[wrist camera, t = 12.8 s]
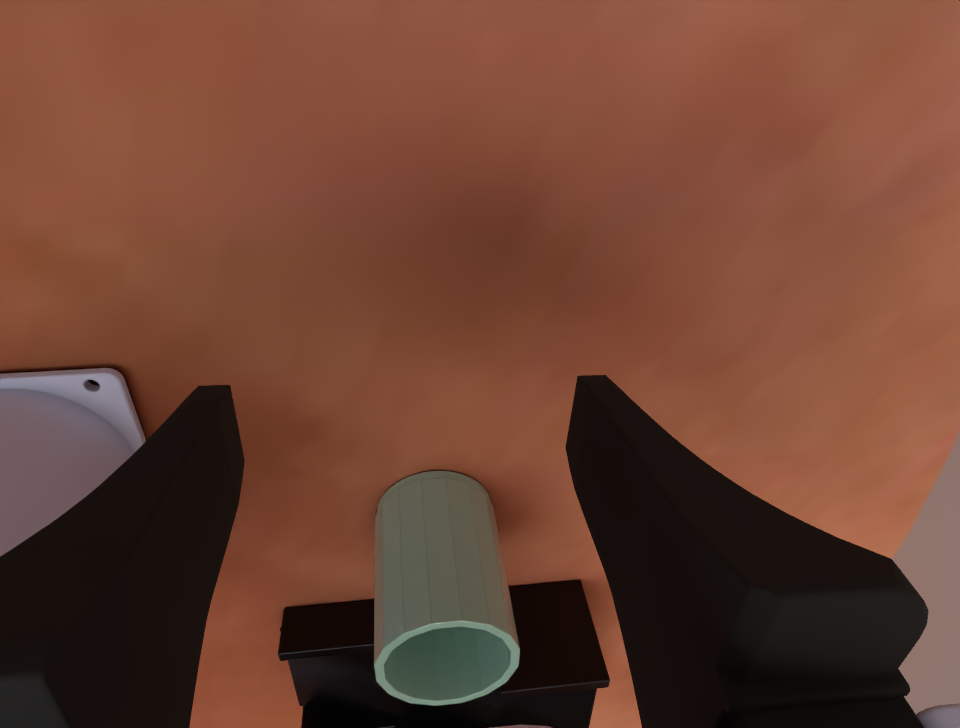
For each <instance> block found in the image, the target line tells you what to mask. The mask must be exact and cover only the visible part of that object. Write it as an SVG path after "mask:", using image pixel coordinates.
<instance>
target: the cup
mask: <svg viewBox="0 0 960 728" xmlns="http://www.w3.org/2000/svg"><path fill="white" fill-rule="evenodd" d="M519 658H520V646H519V641H518V636H517V630H516V625H515V620H514V614H513V609H512V604H511V598H510V593H509V588H508V582H507V577H506V572H505V566H504V561H503V556H502V550H501V545H500V540H499V534H498V529H497V524H496V518H495V513H494V508H493V506H492V503H491V499H490V496H489V494H488V493H487V491H486V490H485V489H484V487H483V486H482V485H481V484H479V483H478V482H477V481H475V480H474V479H472V478H470V477H468V476H466V475H463V474H460V473H456V472H450V471H428V472H422V473H418V474H415V475H411V476H409V477H407V478H404V479H402V480H400V481H399V482H397V483H396V484H394V485H393V486H392V487H390V488H389V489H388V490H387V491H386V492H385V494H384V495H383V496H382V498H381V499H380V501H379V503H378V506H377V509H376V517H375V585H374V669H375V676H376V681H377V683H378V684H379V685H380V686H381V687H382V688H383V689H384V690H385V691H386V692H387V693H388V694H389V695H391V696H393V697H396V698H398V699H401V700H403V701H406V702H408V703H413V704H423V705H432V706H435V705H436V706H439V705H448V704H456V703H462V702H466V701H469V700H472V699H475V698H478V697H481V696H484V695H487V694H489V693H490V692H492V691H494V690H495V689H497V688H498V687H500V686H501V685H503V684H504V683H506V682H507V681H508V680H509V679H510V677H511V676H512V674H513V673H514V672H515V670H516V669H517V668H518V666H519Z"/></svg>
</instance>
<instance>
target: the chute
mask: <svg viewBox="0 0 960 728" xmlns="http://www.w3.org/2000/svg"><path fill="white" fill-rule="evenodd" d="M281 628H282V626H281ZM281 628H280V631H281ZM288 662H289V666H290V670H291V674H292V678H293V682H294V686H295V689H296V693H297V697H298V701H299V705H300V706H307V707H314V708H320V709H327V710H334V711H340V712H347V713H354V714H361V715H367V716H374V717H381V718H387V719H394V720H401V721H408V722H414V723H421V724H428V725H435V726H441V727H448V728H491V727H501V726H512V725H538V726H550V727H552V728H589V724H590V719H591V715H592V710H593V705H594V700H595V695H596V690H597V688H596V689H587V690H579V691H570V692H561V693H552V694H543V695H535V696H526V697H517V698H508V699H501V698H500V693H499V687H498V688H497V689H495V690H494V691H492V692H490V693H489V694H487V695H484V696H481V697H478V698H475V699H472V700H469V701H466V702H462V703H456V704H448V705H439V706H436V705H435V706H432V705H423V704H413V703H408V702H406V701H403V700H401V699H398V698H396V697H393V696H391V695H389V694H388V693H387V692H386V691H385V690H384V689H383V688H382V687H381V686H380V685H379V684H378V683H377V681H376V676H375V669H374V651H371V652H362V653H352V654H342V655H333V656H323V657H313V658H304V659H294V660H288Z"/></svg>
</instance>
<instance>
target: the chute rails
mask: <svg viewBox="0 0 960 728" xmlns="http://www.w3.org/2000/svg"><path fill="white" fill-rule="evenodd" d="M508 588H509V593H510V598H511V604H512V609H513V614H514V620H515V625H516V630H517V636H518V641H519V646H520V658H519V666H518V668H517V669H516V670H515V672H514V673H513V674H512V676H511V677H510V679H509V680H508V681H507V682H506V683H504V684H503V685H501V686H500V687H499V693H500V698H501V699H508V698H517V697H526V696H535V695H543V694H552V693H561V692H570V691H579V690H587V689H596V688H605V687H609V682H610V678H609V675H608V672H607V668H606V665H605V661H604V658H603V655H602V651H601V648H600V644H599V641H598V638H597V634H596V631H595V628H594V624H593V621H592V617H591V614H590V611H589V607H588V604H587V600H586V597H585V594H584V590H583V587H582V583H581V581H580V580H578V581H567V582H557V583H546V584H535V585H525V586H514V587H508ZM371 651H374V600H367V601H357V602H346V603H336V604H325V605H314V606H304V607H293V608H285V609H284V613H283V620H282V628H281V635H280V643H279V650H278V655H279V659H280V661H284V660H294V659H304V658H313V657H323V656H333V655H342V654H352V653H362V652H371ZM301 728H448V727H441V726H435V725H428V724H421V723H414V722H408V721H401V720H394V719H387V718H381V717H374V716H367V715H361V714H354V713H347V712H340V711H334V710H327V709H320V708H314V707H307V706H303V715H302V726H301Z"/></svg>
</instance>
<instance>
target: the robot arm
mask: <svg viewBox="0 0 960 728" xmlns="http://www.w3.org/2000/svg"><path fill="white" fill-rule="evenodd" d="M88 380H94V381H96V382H98V384H99V385H93V384H91V383H90V382H89V381H88ZM566 452H567V457H568V462H569V467H570V472H571V476H572V480H573V484H574V489H575V491H576V494H577V497H578V500H579V503H580V506H581V508H582V511H583V514H584V517H585V519H586V522H587V525H588V528H589V530H590V533H591V536H592V538H593V541H594V544H595V547H596V549H597V552H598V555H599V557H600V560H601V563H602V566H603V568H604V571H605V574H606V577H607V580H608V583H609V586H610V589H611V592H612V596H613V600H614V604H615V608H616V612H617V616H618V620H619V624H620V628H621V632H622V636H623V641H624V645H625V649H626V654H627V658H628V663H629V667H630V671H631V676H632V680H633V685H634V690H635V695H636V700H637V705H638V710H639V714H640V719H641V724H642V728H960V704H950V705H940V706H935V707H930V708H927V709H925V710H923V711H921V712H919V713H917V714H916V715H915V713H914V712H913V710H912V709H911V707H910V705H909V704H908V702H907V701H906V699H905V698H904V696H907V695H908V693H909V692H910V687H909V684H908V683H907V681H906V680H905V678H904V677H903V675H902V674H901V672H900V671H899V669H898V668H899V666H900V665H901V663H902V662H903V661H904V659H905V658H906V656H907V655H908V654H909V652H910V651H911V649H912V648H913V647H914V645H915V644H916V642H917V641H918V640H919V638H920V636H921V635H922V633H923V631H924V629H925V627H926V624H927V619H928V609H927V606H926V604H925V602H924V600H923V599H922V598H921V596H920V595H919V594H918V592H917V591H916V590H915V588H914V587H913V586H912V585H911V583H910V582H909V581H908V579H907V578H906V577H905V576H904V574H903V573H902V572H901V570H900V569H899V568H898V566H897V565H896V564H895V563H894V562H893V560H892V559H890V558H888V557H885V556H883V555H880V554H878V553H875V552H872V551H870V550H867V549H865V548H862V547H860V546H857V545H855V544H852V543H850V542H847V541H845V540H842V539H840V538H837V537H835V536H833V535H831V534H828V533H826V532H824V531H822V530H820V529H818V528H816V527H814V526H811V525H809V524H807V523H805V522H803V521H801V520H799V519H797V518H795V517H793V516H791V515H789V514H787V513H785V512H783V511H782V510H780V509H778V508H776V507H774V506H773V505H771V504H769V503H767V502H766V501H764V500H762V499H760V498H758V497H757V496H755V495H753V494H752V493H750V492H748V491H747V490H745V489H743V488H742V487H740V486H739V485H737V484H736V483H734V482H733V481H731V480H730V479H728V478H727V477H725V476H724V475H722V474H721V473H719V472H718V471H716V470H715V469H713V468H712V467H711V466H709V465H708V464H706V463H705V462H704V461H702V460H701V459H700V458H699V457H697V456H696V455H695V454H693V453H692V452H691V451H690V450H688V449H687V448H686V447H685V446H683V445H682V444H681V443H680V442H678V441H677V440H676V439H675V438H674V437H672V436H671V435H670V434H669V433H668V432H666V431H665V430H664V429H663V428H662V427H661V426H660V425H658V424H657V423H656V422H655V421H654V420H653V419H652V418H651V417H650V416H648V415H647V414H646V413H645V412H644V411H643V410H642V409H641V408H640V407H639V406H638V405H637V404H636V403H634V402H633V401H632V400H631V399H630V398H629V397H628V396H627V395H626V394H625V393H624V392H623V391H622V390H621V389H620V388H619V387H618V386H617V385H615V384H614V383H613V382H612V381H611V380H610V379H609V378H608V377H607V376H606V375H593V376H578V377H577V383H576V389H575V395H574V401H573V407H572V413H571V419H570V425H569V431H568V437H567V442H566ZM244 462H245V460H244V455H243V450H242V445H241V439H240V434H239V429H238V424H237V418H236V413H235V408H234V403H233V398H232V392H231V387H230V385H212V386H198V387H197V388H196V389H195V390H194V391H193V392H192V393H191V394H190V395H189V396H188V397H187V398H186V399H185V400H184V401H183V403H182V404H181V405H180V406H179V407H178V408H177V409H176V410H175V411H174V412H173V413H172V414H171V416H170V417H169V418H168V419H167V420H166V421H165V422H164V423H163V424H162V425H161V426H160V427H159V428H158V429H157V430H156V431H155V432H154V433H153V434H152V436H151V437H150V438H149V439H148V440H147V441H146V439H145V436H144V433H143V430H142V428H141V425H140V422H139V419H138V416H137V413H136V411H135V408H134V405H133V402H132V399H131V396H130V394H129V391H128V388H127V385H126V382H125V379H124V377H123V376H122V374H121V373H119V372H118V371H117V370H114V369H111V368H96V369H78V370H60V371H41V372H23V373H5V374H0V728H189V725H190V718H191V711H192V705H193V698H194V692H195V685H196V679H197V672H198V666H199V660H200V655H201V649H202V643H203V637H204V631H205V626H206V620H207V616H208V612H209V608H210V603H211V599H212V596H213V592H214V589H215V586H216V582H217V579H218V575H219V572H220V568H221V565H222V561H223V558H224V554H225V551H226V547H227V544H228V540H229V537H230V533H231V530H232V526H233V523H234V519H235V515H236V512H237V508H238V504H239V498H240V491H241V484H242V477H243V469H244ZM491 728H552V727H550V726H538V725H512V726H501V727H491Z"/></svg>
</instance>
